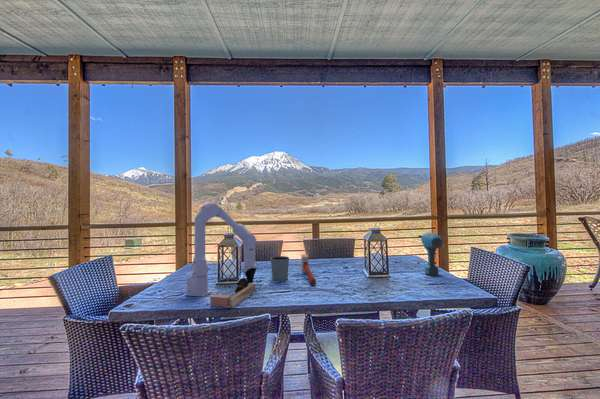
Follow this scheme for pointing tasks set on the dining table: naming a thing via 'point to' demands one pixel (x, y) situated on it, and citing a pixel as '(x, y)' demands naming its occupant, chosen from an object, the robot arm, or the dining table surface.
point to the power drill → (431, 251)
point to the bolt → (241, 285)
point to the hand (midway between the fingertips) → (250, 282)
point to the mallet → (307, 269)
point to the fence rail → (241, 295)
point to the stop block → (220, 300)
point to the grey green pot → (280, 268)
